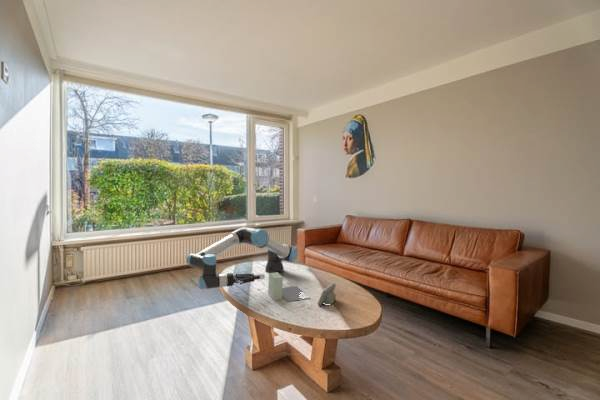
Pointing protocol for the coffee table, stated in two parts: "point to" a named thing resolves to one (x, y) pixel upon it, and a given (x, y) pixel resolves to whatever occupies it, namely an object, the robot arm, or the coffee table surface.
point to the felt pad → (291, 293)
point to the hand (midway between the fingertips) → (264, 276)
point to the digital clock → (327, 295)
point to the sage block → (275, 286)
